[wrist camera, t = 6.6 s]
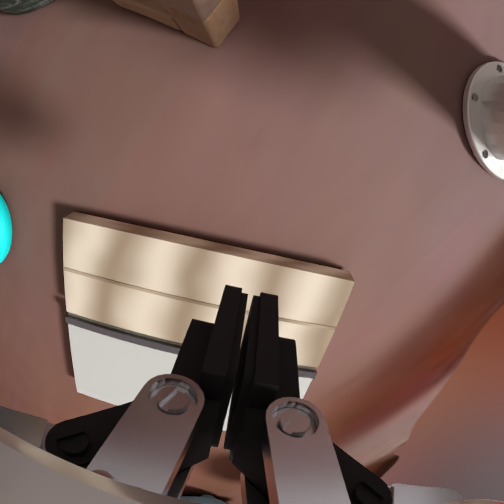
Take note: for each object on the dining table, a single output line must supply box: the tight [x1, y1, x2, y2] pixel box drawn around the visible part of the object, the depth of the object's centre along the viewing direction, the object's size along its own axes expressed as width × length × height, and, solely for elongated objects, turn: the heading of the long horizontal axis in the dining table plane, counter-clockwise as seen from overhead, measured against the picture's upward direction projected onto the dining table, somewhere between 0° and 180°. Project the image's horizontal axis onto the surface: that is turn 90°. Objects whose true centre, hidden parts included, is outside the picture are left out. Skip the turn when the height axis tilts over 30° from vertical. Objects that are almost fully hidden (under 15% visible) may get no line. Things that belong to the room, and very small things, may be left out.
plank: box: [63, 212, 355, 368], centre depth 29 cm, size 26×10×2 cm, turn 77°
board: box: [65, 312, 317, 431], centre depth 33 cm, size 26×12×2 cm, turn 77°
